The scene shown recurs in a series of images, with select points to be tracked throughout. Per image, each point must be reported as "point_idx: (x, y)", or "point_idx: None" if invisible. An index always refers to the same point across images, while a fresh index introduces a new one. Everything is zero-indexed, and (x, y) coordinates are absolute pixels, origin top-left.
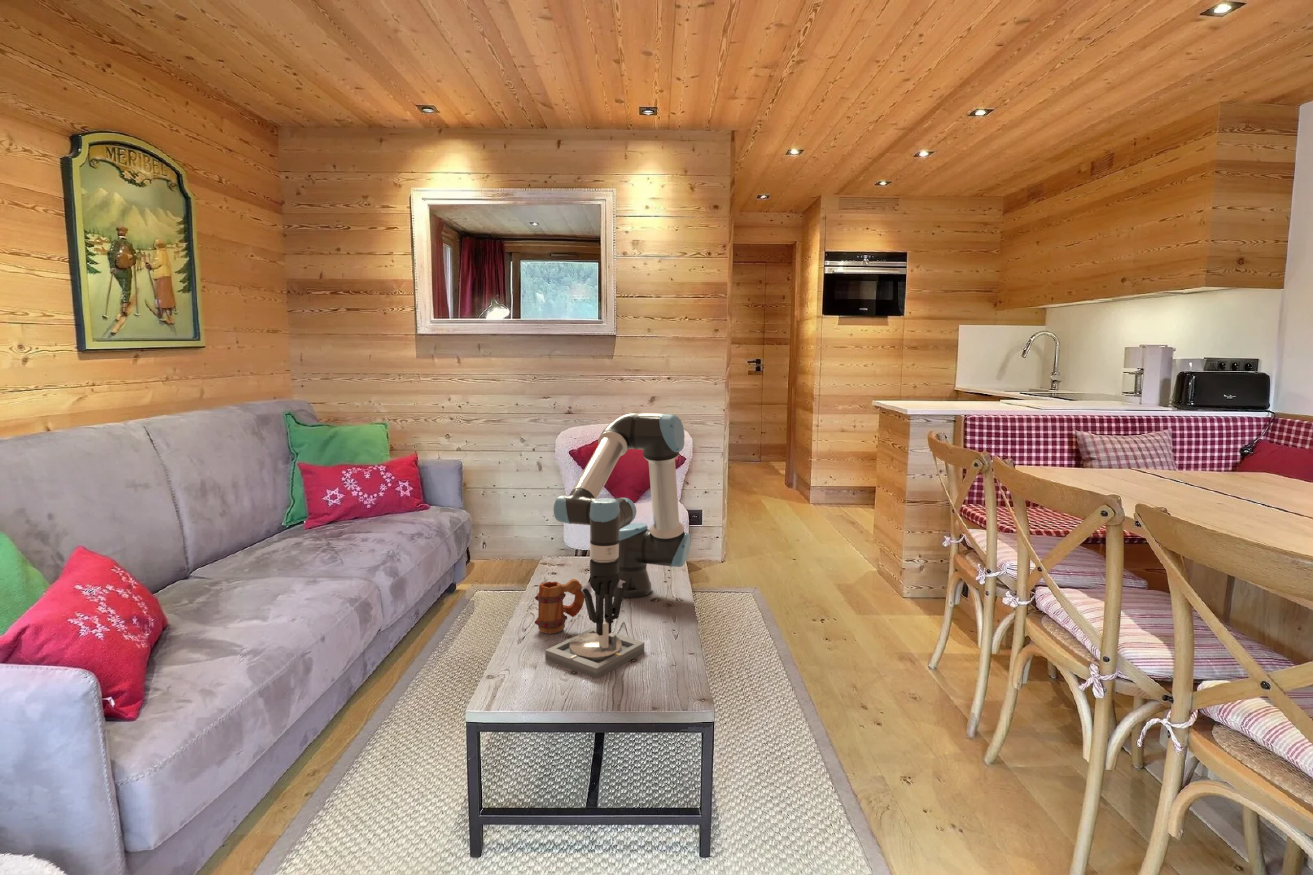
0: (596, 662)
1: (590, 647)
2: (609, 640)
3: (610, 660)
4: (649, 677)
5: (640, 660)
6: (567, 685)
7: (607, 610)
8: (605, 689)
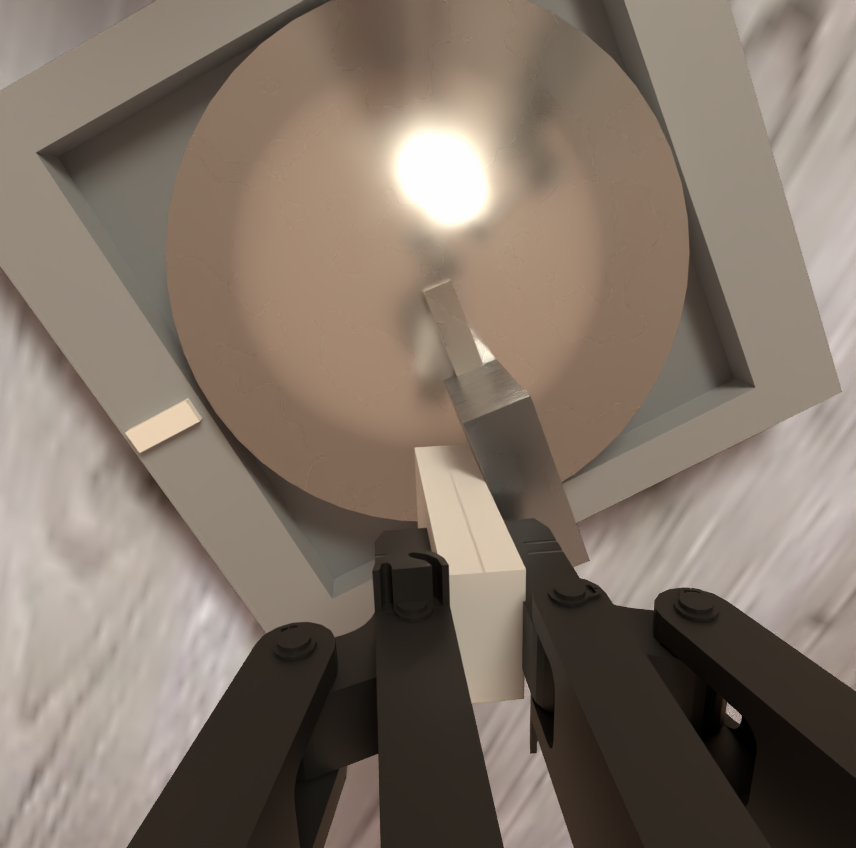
0: None
1: (352, 360)
2: None
3: None
4: None
5: (685, 485)
6: (82, 631)
7: (580, 831)
8: None
